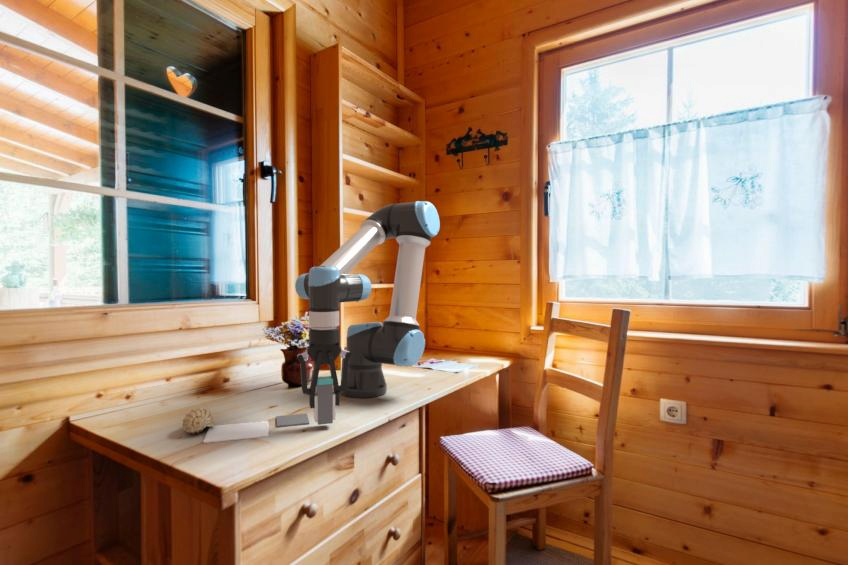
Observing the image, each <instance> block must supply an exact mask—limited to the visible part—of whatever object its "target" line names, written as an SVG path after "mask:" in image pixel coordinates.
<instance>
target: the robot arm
mask: <svg viewBox="0 0 848 565" xmlns="http://www.w3.org/2000/svg"><path fill="white" fill-rule="evenodd" d="M440 226H441V222H440V216H439V213H438V210H437V208H436V207H435V205H434V204H433V203H432V202H430V201H427V200H425V201H423V200H422V201H420V200H416V201H410V202H402V203H401V202H400V203H399V202H398V203H390V204H387V205H385V206H382V207H381V208H379V209H377V210H376V211H374V212H373V213H372V214H371V215H369V216H368V217H367V218H365V219H364V220H363V222H362V223H361V224H360V228H359V229H358V230H357V231H356V232H355V233H354V234H353V235H351V237H350V238H349V239H348V240H347V241H345V242H344V243H343V244H342V245H341V246H340V247H339V248H337V250H335V252H333V253H332V254H331V255H330V256H329V257H328V258H327V259H325V261H324V262H323V263H321V264H320V265H319V266H313V267H311V268H310V269H309V272H307V273H302V274H300V275H299V276H298V277H297V279H296V281H295V285H294V288H295V292H296V294H297V295H298V297H299V298H301V299H304V300H308V326H309V327H310V328H309V330H308V346H307V349H306V351H304V352H302V353H297V355H296V357H297V360H298V362H299V363H300V364H299V366H300V378H301V379H300V380H301V382H300V383H301V392H302V394H303V395H308V396H309V398H308V399H309V400H308V401H309V402H308V403H309V408H310V409H313V420H314V422H315V423H317V422H318V395H317V388H316V385H317V380H318V377H319V373H320V369H321V366H323V365H327V366H328V368H329V371H330V376H331V377H332V378H333V421H335V420H336V406H340V404H341V403H340V401H341V400H340V394H341V395H343V396H345V397H349V398H359V399H365V398H375V397H380V396H383V395H385V394H386V393H387V391H388V387H387V382H386V379H385V375H384V372H383V364H384V365H389V366H390V365H391V366H397V367H407V368H408V367H413V366H414V365H416V364H417V363H418V362H419V361H420V360H421V358H422V356H423V353H424V352H425V347H426V339H425V335H424V332H422V331H421V330H420V324H419V322H418V321H417V315H418V314H417V312H418V308H419V307H418V305H419V299H420V290H421V282H422V276H423V275H422V274H423V267H424V259H425V254H426V253H425V252H426V248H428V246H430V245H431V241H432V238H434V237H435V236H437V235H438V233H439V231H440V228H441V227H440ZM389 239H395V240H396V242H397V243H398V245H399V246H398V253H397V259H396V267H395V272H394V273H395V274H394V279H393V287H392V288H393V289H392V295H391V303H390V308H389V309H390V310H389V315H388V316H387V317H386V318H385V319H384V320H383V323H382V322H381V321H374V322H365V323H356V324H350V325H349V326H348V328H347V331H346V333H347V334H346V338H345V339H346V350H345V349H343V348H342V346H341V344H340V329H339V326H340V303H352V302H356V303H357V302H360V301H365V300H367V299H368V298H369V296H370V294H371V292H372V283H371V280H370V279H369V278H368V277H367V275H364V274H363V273H360V274H359V273H351V271H352V270H354V268H355V267H356V266H357V265H358V264H359V263H360V262H361V261H362V260H364V258H365V257H366V256H367V255H368V254H369V253H370V252H371V251H372V250H373V249H374V248H375V247H376V246H379V245H382V244H383V243H384V242H385V241H387V240H389ZM339 356H340V357H341V359H342V361H341V370H340V371H341V372H340V385H339V380H338V375H337V369H336V364H335V361H336V360H337V359H338V357H339ZM308 357H309V358H310V359H311V360H312V361H313V369H312V375H311V379H310V384H309V387H308V377H307V366H306V365H307V364H306V362H307V361H308Z"/></svg>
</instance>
